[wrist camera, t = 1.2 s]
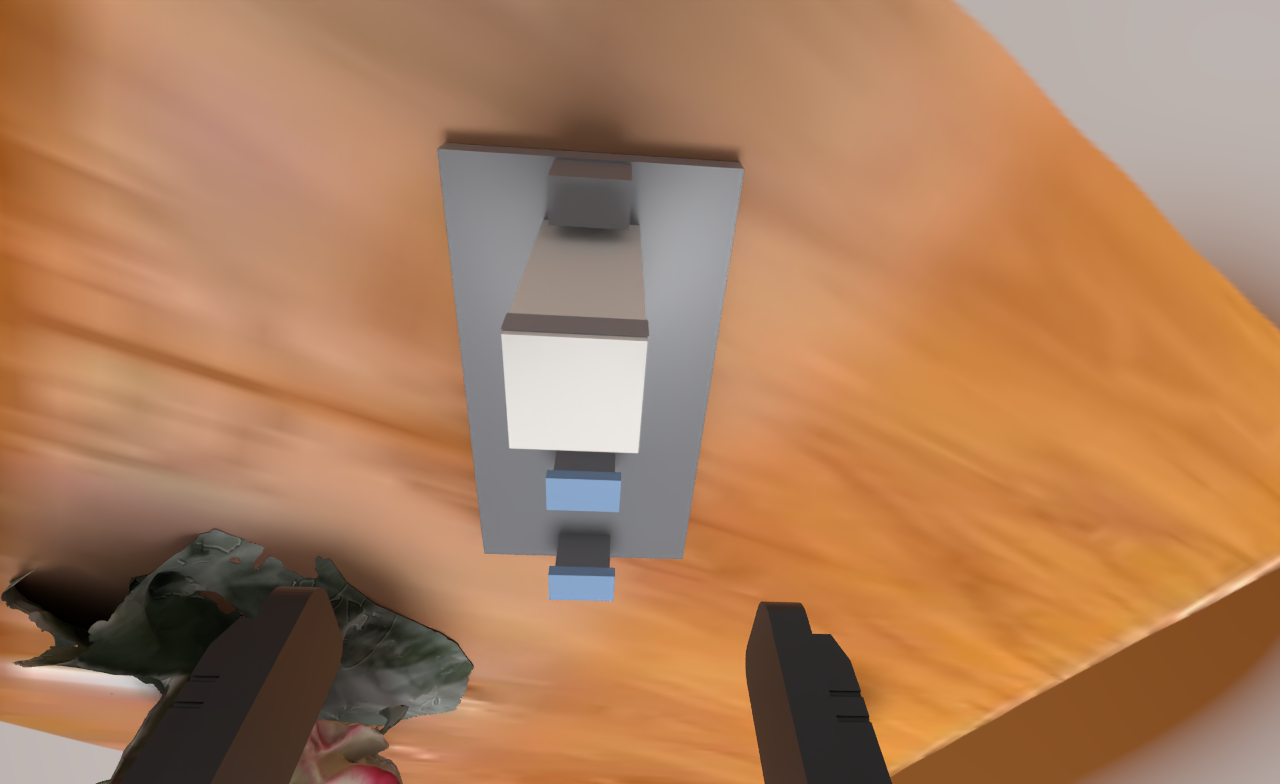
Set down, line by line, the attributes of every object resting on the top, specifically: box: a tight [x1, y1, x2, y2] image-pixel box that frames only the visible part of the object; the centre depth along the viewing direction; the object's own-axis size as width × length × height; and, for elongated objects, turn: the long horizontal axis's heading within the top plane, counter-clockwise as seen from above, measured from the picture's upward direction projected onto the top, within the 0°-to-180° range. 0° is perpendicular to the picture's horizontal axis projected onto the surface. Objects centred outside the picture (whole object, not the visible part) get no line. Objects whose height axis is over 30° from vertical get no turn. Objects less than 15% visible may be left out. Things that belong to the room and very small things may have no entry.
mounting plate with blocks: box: [437, 143, 744, 601], centre depth 29 cm, size 23×12×4 cm, turn 176°
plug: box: [501, 219, 649, 453], centre depth 21 cm, size 4×4×10 cm
